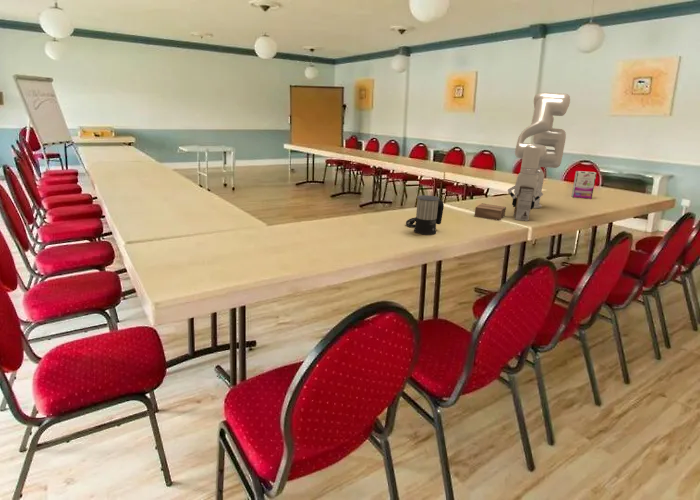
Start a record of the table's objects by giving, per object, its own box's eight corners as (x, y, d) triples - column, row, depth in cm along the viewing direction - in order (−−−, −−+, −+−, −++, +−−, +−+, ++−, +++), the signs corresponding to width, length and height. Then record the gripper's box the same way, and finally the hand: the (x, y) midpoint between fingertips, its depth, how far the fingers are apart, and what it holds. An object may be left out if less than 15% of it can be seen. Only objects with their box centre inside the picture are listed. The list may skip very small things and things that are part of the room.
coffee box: (512, 215, 237) (518, 183, 232) (526, 216, 236) (531, 185, 231) (515, 219, 229) (520, 186, 224) (528, 221, 228) (534, 188, 223)
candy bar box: (589, 197, 300) (594, 171, 295) (591, 199, 295) (597, 173, 290) (570, 196, 302) (575, 170, 297) (572, 197, 297) (578, 171, 292)
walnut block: (480, 212, 241) (482, 203, 239) (504, 216, 236) (506, 206, 234) (474, 217, 231) (475, 207, 229) (498, 221, 226) (500, 211, 224)
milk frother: (430, 236, 192) (434, 200, 187) (395, 229, 199) (398, 194, 195) (443, 229, 203) (447, 195, 199) (410, 223, 211) (413, 190, 206)
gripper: (548, 172, 225) (542, 209, 231) (511, 168, 232) (505, 204, 238) (547, 174, 219) (540, 211, 224) (508, 170, 226) (503, 206, 231)
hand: (522, 207), depth 231 cm, fingers closed on coffee box, 7 cm apart
